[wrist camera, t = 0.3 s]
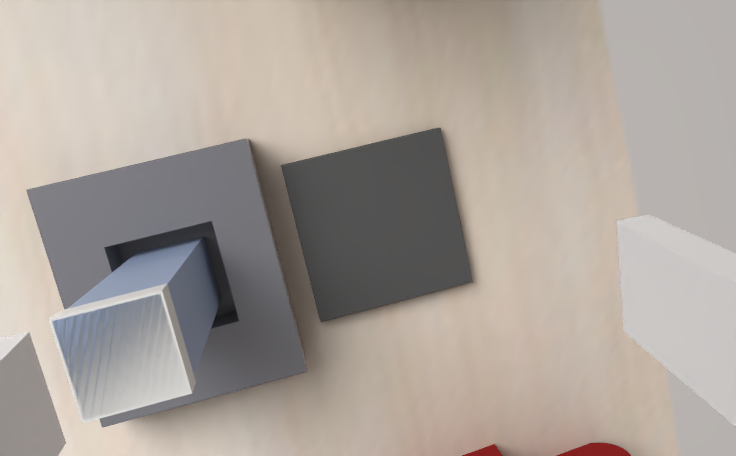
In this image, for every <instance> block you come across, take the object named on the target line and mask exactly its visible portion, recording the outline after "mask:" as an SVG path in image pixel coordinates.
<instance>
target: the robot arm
mask: <svg viewBox="0 0 736 456" xmlns="http://www.w3.org/2000/svg"><path fill="white" fill-rule="evenodd" d="M617 236H618V252H619V267H620V282H621V298H622V313H623V328H624V332H625V333H626V334H627V335H628V336H629V337H631V338H632V339H633V340H634V341H635V342H637V343H638V344H639V345H640V346H641V347H642V348H644V349H645V350H646V351H647V352H648V353H649V354H651V355H652V356H653V357H654V358H655V359H657V360H658V361H659V362H660V363H661V364H662V365H664V366H665V367H666V368H667V369H668V370H669V371H671V372H672V373H673V374H674V375H675V376H676V377H678V378H679V379H680V380H681V381H682V382H684V383H685V384H686V385H687V386H688V387H689V388H691V389H692V390H693V391H694V392H695V393H696V394H698V395H699V396H700V397H701V398H702V399H704V400H705V401H706V402H707V403H708V404H709V405H711V406H712V407H713V408H714V409H715V410H717V411H718V412H719V413H720V414H721V415H722V416H723V417H725V418H726V419H727V420H728V421H729V422H731V423H732V424H733V425H734V426H735V427H736V253H734V252H731V251H729V250H727V249H725V248H723V247H720V246H718V245H716V244H713V243H711V242H709V241H707V240H705V239H703V238H700V237H698V236H696V235H694V234H691V233H689V232H687V231H685V230H683V229H680V228H678V227H676V226H674V225H671V224H669V223H667V222H665V221H663V220H660V219H658V218H656V217H654V216H652V215H644V216H638V217H632V218H627V219H622V220H617ZM65 443H66V442H65V439H64V436H63V433H62V430H61V427H60V424H59V421H58V418H57V415H56V412H55V409H54V405H53V402H52V399H51V396H50V393H49V390H48V387H47V384H46V381H45V378H44V375H43V372H42V369H41V366H40V363H39V360H38V357H37V354H36V351H35V348H34V345H33V342H32V339H31V336H30V333H29V332H27V333H22V334H16V335H11V336H6V337H0V456H58V455H59V453H60V451H61V450H62V448H63V447H64V445H65Z"/></svg>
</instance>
